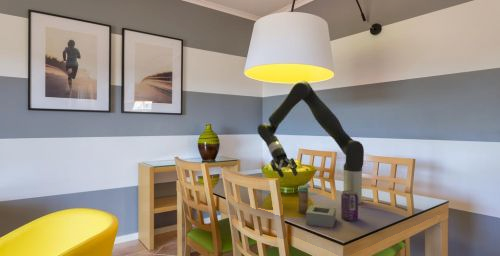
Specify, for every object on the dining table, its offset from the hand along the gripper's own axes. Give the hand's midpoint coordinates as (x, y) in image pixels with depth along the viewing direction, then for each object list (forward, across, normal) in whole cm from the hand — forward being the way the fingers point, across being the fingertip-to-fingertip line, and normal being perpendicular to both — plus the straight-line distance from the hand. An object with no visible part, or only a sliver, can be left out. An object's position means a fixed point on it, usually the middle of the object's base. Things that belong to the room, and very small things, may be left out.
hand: (289, 176), depth 144 cm
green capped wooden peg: (+19, 0, +3) cm, 19 cm away
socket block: (+29, -2, -7) cm, 30 cm away
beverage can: (+31, +12, -9) cm, 35 cm away
